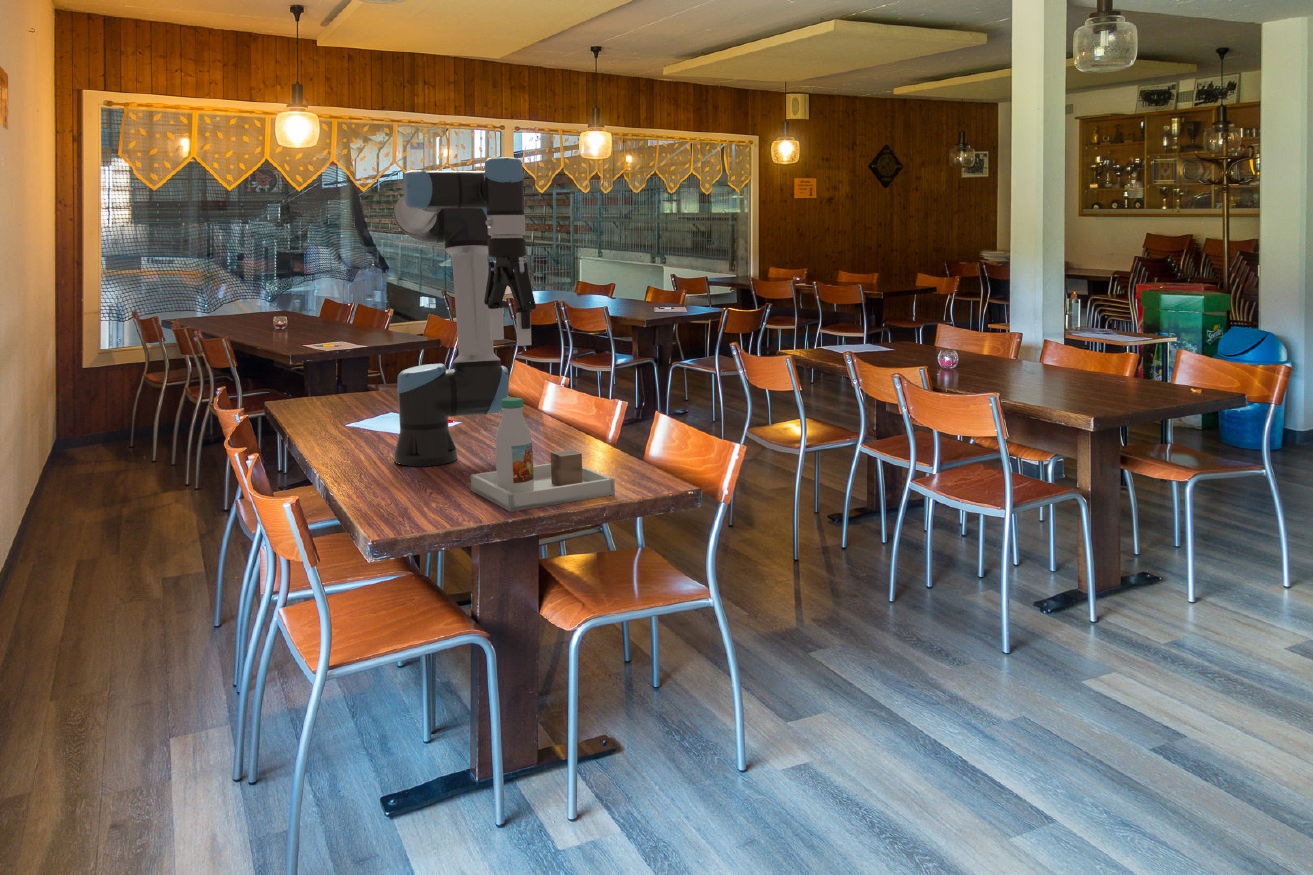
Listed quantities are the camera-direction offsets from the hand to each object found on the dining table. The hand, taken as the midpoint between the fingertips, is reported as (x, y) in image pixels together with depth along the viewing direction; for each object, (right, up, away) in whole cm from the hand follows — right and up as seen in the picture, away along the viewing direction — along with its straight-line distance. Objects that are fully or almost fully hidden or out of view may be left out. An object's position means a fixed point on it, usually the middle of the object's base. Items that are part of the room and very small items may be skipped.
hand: (510, 342), depth 206 cm
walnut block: (+10, -30, +13) cm, 34 cm away
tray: (+5, -31, +10) cm, 33 cm away
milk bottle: (0, -31, +6) cm, 32 cm away
